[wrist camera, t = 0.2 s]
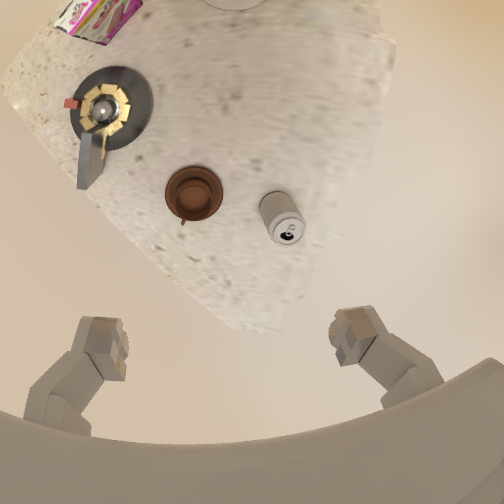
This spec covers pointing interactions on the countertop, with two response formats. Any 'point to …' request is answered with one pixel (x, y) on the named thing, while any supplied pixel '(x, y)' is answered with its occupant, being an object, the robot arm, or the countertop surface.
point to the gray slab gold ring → (98, 132)
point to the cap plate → (137, 101)
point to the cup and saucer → (193, 194)
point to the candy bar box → (96, 18)
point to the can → (282, 219)
